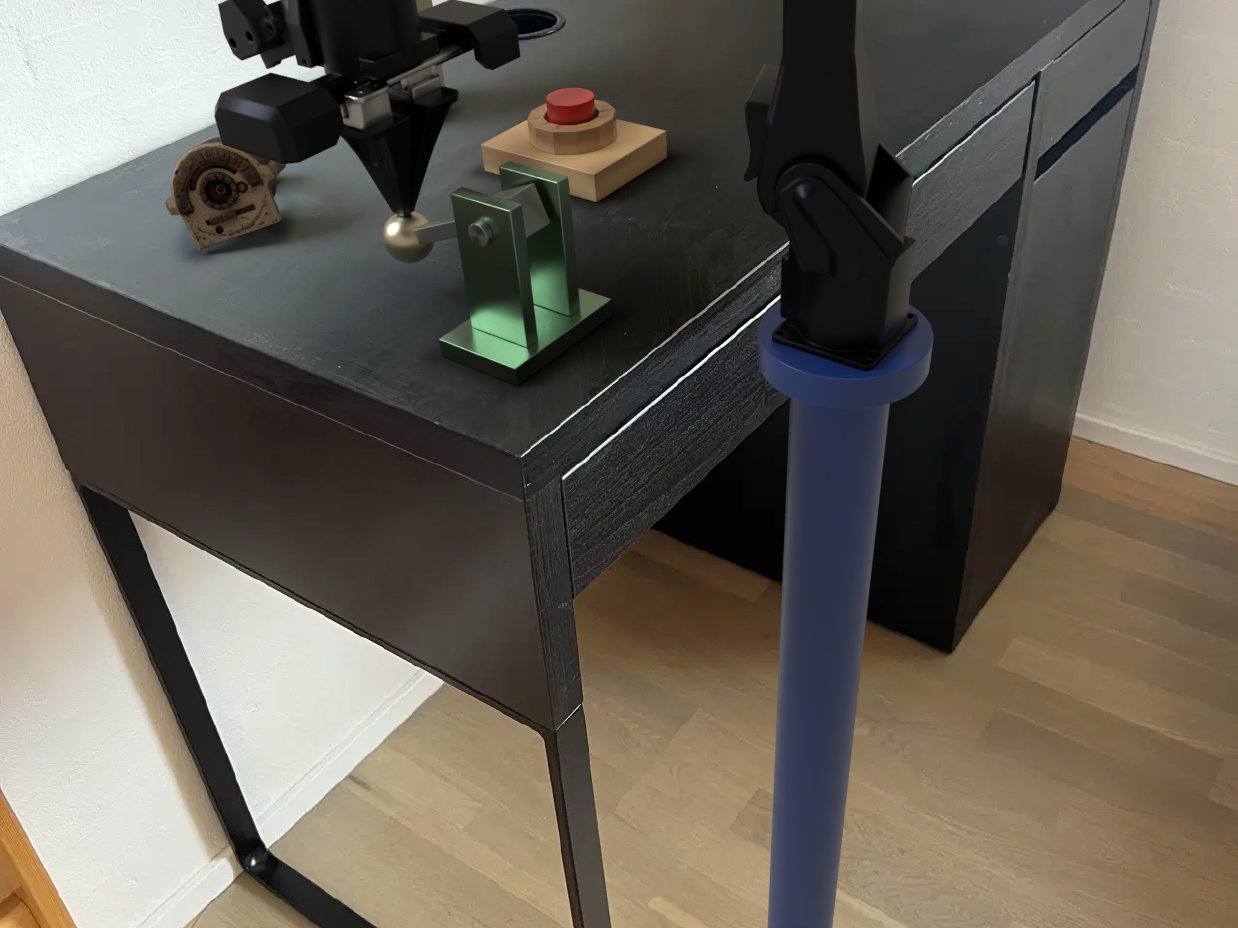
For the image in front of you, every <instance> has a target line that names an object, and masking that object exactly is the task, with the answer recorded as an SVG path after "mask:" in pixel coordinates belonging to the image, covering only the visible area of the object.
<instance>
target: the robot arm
mask: <svg viewBox="0 0 1238 928" xmlns="http://www.w3.org/2000/svg"><path fill="white" fill-rule="evenodd" d="M217 6H218V11H219V17H220V22H221V27H222V32H223V36H224V37H225V40H226V42H227V45H228V46H229V49H230V50H231V53H232V54H233V56H234V57H236V58H237V59H238V60H240V61H245V60H249V59H251V58H254V57H256V56H258V55H259V56H260V58H261V60H262V63H263V64H264V65H263V66H264V67H265V69H266V70H269V69H272V68H275V67H277V66H279V65H281V63H282V61H284V60H287V59H289V58H292V57H294V56H295V61H296V65H297V66H299V67H304V68H309V69H314V68H316V67H320V68H323V70H324V74H323V75H322V76H320V77H317V78H314V79H312V80H310V81H306V80H302V79H298V78H294V77H290V76H287V75H282V74H278V73H275V72H268V73H266V74H263V75H261V76H259V77H256V78H254V79H251V80H249V81H246V82H244V83H242V84H241V83H240V84H239V85H236V86H233V87H231V88H228V89H226V90H223V91H221V92H220V94H219V96H218V99H217V101H216V103H215V106H214V116H213V117H214V120H215V124H216V127H217V130H218V135H219V137H220V138H221V141H222V145H224V146H227V147H231V148H234V149H237V150H240V151H243V152H247V153H250V154H253V155H256V156H259V157H263V158H266V159H269V160H272V161H275V162H279V163H282V164H286V165H290V164H298V163H301V162H304V161H306V160H308V159H310V158H312V157H314V156H316V155H319V154H320V153H322V152H325V151H327V150H329V149H331V148H333V147H335V146H337V144H338V142H339V140H340V138H342V139H343V140H344V141H345V142H346V143H347V145H348V146H349V147H350V149H351V150H352V151H353V152H354V154H355V155H356V156H357V158H358V159H359V161H360V162H361V164H362V165H363V167H364V169H365V170H366V172H367V173H368V176H369V177H370V178H371V180H372V181H373V183H374V184H375V186H376V188H377V190H378V192H379V193H380V194H381V196H382V198H383V199H384V201H385V203H386V204H387V205H388V207H389V209H390V211H391V212H392V213H393V214H394V215H395V214H397V215H400V216H403V217H404V216H406V215H408V214H410V213H412V212H415V208H416V206H417V202H418V199H419V196H420V193H421V190H422V186H423V183H424V180H425V177H426V174H427V170H428V167H429V165H430V161H431V158H432V155H433V152H434V149H435V147H436V143H437V141H438V138H439V136H440V133H441V132H442V130H443V129H442V128H443V127H444V124H445V121H446V118H447V116H448V113H449V111H450V108H451V106H452V105H453V104H454V103H457V102H458V101H459V100H460V99H459V98H460V93H459V90H458V89H456V88H452V87H448V86H445V87H444V86H441V81H440V75H437V68H436V66H438V65H440V64H442V65H443V64H444V63H447V62H450V61H451V60H453V59H455V58H458V57H460V56H461V55H464V54H466V53H469V52H471V51H473V55H474V60H475V61H476V62H477V63H478V64H479V65H480V66H482V67H483V68H484V69H486V70H489V71H494V70H496V69H499V68H500V67H502V66H505V65H507V64H509V63H511V62H513V61H515V60H518V59H519V58H521V49H520V40H519V31H518V25H517V24H516V23H515V22H514V20H513V19H512V17H511V16H510V15H509V13H508V12H507V11H506V9H505V8H503V7H502V8H501V7H498V6H497V7H496V6H491V5H486V4H480V3H475V2H469V1H464V0H445V1H443V2H440V3H438V4H435V5H433V7H430V8H428V9H425V10H423V11H421V12H418V10H417V4H416V0H276V1H274V2H271V3H269V4H267V3H266V1H264V0H224V1H222V2H219V3H217ZM863 10H864V0H782V52H781V57H780V64H779V65H777V64H772V63H767V62H766V63H764V64H763V65H762V67H761V70H760V71H759V74H758V76H757V77H756V80H755V81H754V84H753V86H752V89H751V90H750V93H749V94H748V97H747V99H746V101H745V103H744V116H745V117H744V118H745V125H746V130H747V131H746V132H747V136H748V141H749V149H750V152H749V161H748V165H747V168H746V170H745V172H744V175H743V180H744V181H745V182H750V181H753V180H754V179H756V194H757V198H758V202H759V204H760V206H761V209H762V211H763V213H765V214H766V215H767V216H770V217H771V218H772V219H773V221H775V222H776V223H777V224H778V225H779V226H780V227H783V228H784V230H785V232H786V235H787V238H788V251H787V252H785V253H784V254H783V255H782V256H781V260H780V261H781V264H780V290H779V291H780V293H779V294H780V295H779V296H780V297H779V302H780V315H781V317H782V318H785V319H786V320H785V321H784V322H782V323H781V324H780V325H779V326H778V327H777V328H776V329H775V330H773V332H772V341H773V342H775V343H778V344H781V345H784V346H787V347H790V348H793V349H796V350H799V351H802V352H805V353H808V354H811V355H815V356H818V357H821V358H824V359H827V360H830V361H833V362H836V363H839V364H842V365H845V366H848V367H851V368H855V369H858V370H861V371H872V370H873V369H874V368H875V367H876V366H877V365H878V364H879V363H880V362H881V361H882V360H883V359H884V358H885V357H886V356H887V355H888V354H889V353H890V352H891V351H892V350H893V349H894V348H895V347H896V346H897V345H898V344H899V342H900V341H901V340H902V339H903V338H904V337H905V336H906V335H907V334H908V333H909V332H910V331H911V330H912V329H913V328H914V327H915V326H916V325H917V323H918V315H917V314H915V313H912V312H909V311H908V304H910V303H909V302H910V292H911V286H912V278H913V277H912V276H913V266H914V260H915V259H914V258H915V250H916V241H917V239H916V238H914V237H912V236H909V235H908V236H907V235H906V229H907V225H908V218H909V213H910V212H909V211H910V205H911V199H912V193H913V186H914V180H915V177H914V174H913V173H912V172H911V170H909V169H908V168H907V167H906V165H905V164H903V162H901V160H900V159H899V158H898V157H897V156H896V155H895V154H894V153H893V151H891V150H890V148H888V147H887V146H886V144H885V143H884V142H883V141H882V140H881V138H880V127H879V120H878V111H877V104H876V97H875V96H876V95H875V87H874V80H873V76H872V71H871V67H870V63H869V59H868V54H867V50H866V49H867V48H866V46H865V41H864V33H863V12H864V11H863ZM355 82H356V83H355Z"/></svg>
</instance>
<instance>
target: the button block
mask: <svg viewBox="0 0 1238 928" xmlns="http://www.w3.org/2000/svg"><path fill="white" fill-rule="evenodd" d="M594 100H595V114H596V118H595V119H593V120H592V121H590V122H587V123H583V124H578V125H556V124H552V123H549V122H548V114H547V104H546V102H545V103H544V104H541V105H539V106H538V107H536V108H534V109H532V110H531V111H530V113H529V114H528V117H527V119H526V120H524V121H522V122H521V123H518V124H516V125H515V126H513V127H511V128H509V129H507V130H505V131H503V132H502V133H500V134H498V135H496V136H494V137H492V138H490V139H488V140H486V141H485V142H483V143H481V145H480V146H481V147H480V148H481V154H482V161H483V169H484V172H487V173H490V174H494V175H498V176H500V174H499V166H501V165H502V164H504V163H506V162H508V161H513V162H517V163H520V164H524V165H528V166H531V167H535V168H539V169H543V170H546V171H550V172H554V173H557V174H561V175H565V176H568V179H569V190H570V196H573V197H576V198H581V199H584V200H587V201H590V202H594V203H598V202H599V201H601V200H602V199H604V198H605V197H607V196H609V195H610V194H612V193H613V192H615V191H617V190H618V189H621V187H623V186H624V185H626V184H627V183H629V182H631V181H632V180H634V179H635V178H638V177H639V176H640V175H642V174H643V173H645V172H646V171H648V170H650V169H651V168H653V167H654V166H656V165H658V164H659V163H661V162H662V161H664V160H665V159H667V158H668V149H667V147H668V146H667V144H668V143H667V130H664V129H660V128H657V127H651V126H648V125H644V124H639V123H635V122H630V121H626V120H622V119H617V111H616V108H614V107H613V106H612V105H611V104H610V103H608V102H607V101H603V100H598V99H595V98H594Z"/></svg>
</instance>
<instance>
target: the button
mask: <svg viewBox="0 0 1238 928" xmlns="http://www.w3.org/2000/svg"><path fill="white" fill-rule="evenodd" d="M594 99H595V94H594V92H593V91H592V90H590V89H587V88H583V87H566V88H560V89H557V90H554V91H552V92H550V93H548V94H547V95H546V97H545V103H546V104H547V114H548V122H549V123H552V124H556V125H578V124H583V123H587V122H590V121H592V120H593V119H595V118H596V114H595V100H596V99H595V100H594Z"/></svg>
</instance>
